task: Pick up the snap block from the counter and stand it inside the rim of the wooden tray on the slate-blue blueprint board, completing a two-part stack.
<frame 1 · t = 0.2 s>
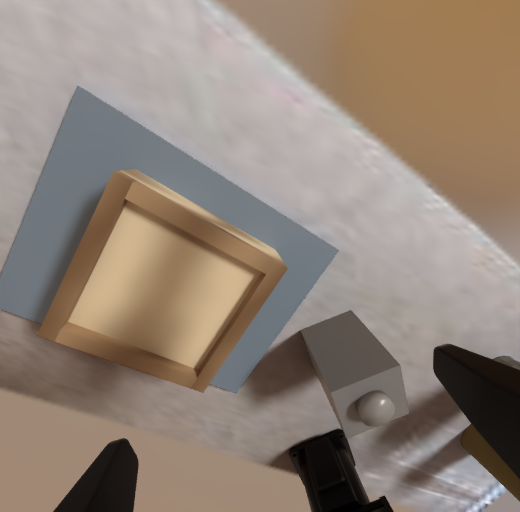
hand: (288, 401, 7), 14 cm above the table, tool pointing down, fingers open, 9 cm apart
cork: (481, 431, 34), on the table
wooden tray: (175, 276, 20), resting on blueprint board
snap block: (332, 340, 25), on the table
blueprint board: (176, 271, 20), on the table
beverage cup: (495, 370, 30), on the table
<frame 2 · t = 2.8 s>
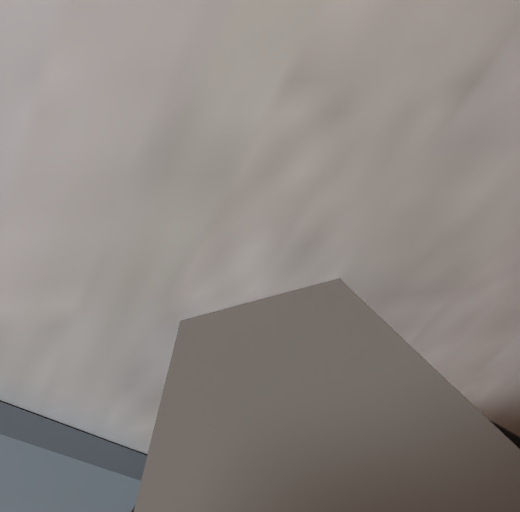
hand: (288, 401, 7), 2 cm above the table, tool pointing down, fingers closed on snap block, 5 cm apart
snap block: (277, 362, 9), on the table, touching gripper
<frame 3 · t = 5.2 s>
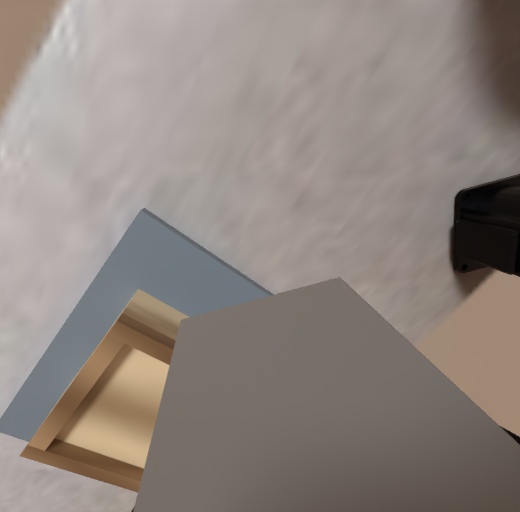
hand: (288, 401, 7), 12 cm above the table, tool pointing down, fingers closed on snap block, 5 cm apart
wooden tray: (166, 380, 20), resting on blueprint board
snap block: (277, 361, 9), point 10 cm above the table, touching gripper
blueprint board: (168, 373, 21), on the table
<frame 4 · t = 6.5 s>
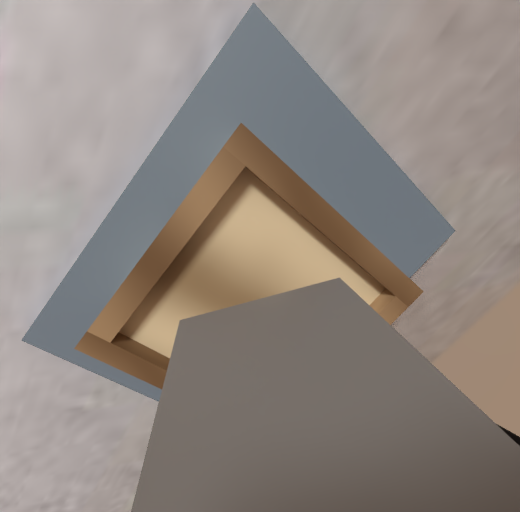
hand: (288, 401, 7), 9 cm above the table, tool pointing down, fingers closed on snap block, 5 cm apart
wooden tray: (251, 282, 15), resting on blueprint board
snap block: (276, 362, 9), point 8 cm above the table, touching gripper
blueprint board: (249, 276, 16), on the table
when the fingers open (7 cm above the table, at t = 7.6 s): snap block drops 1 cm, resting on wooden tray.
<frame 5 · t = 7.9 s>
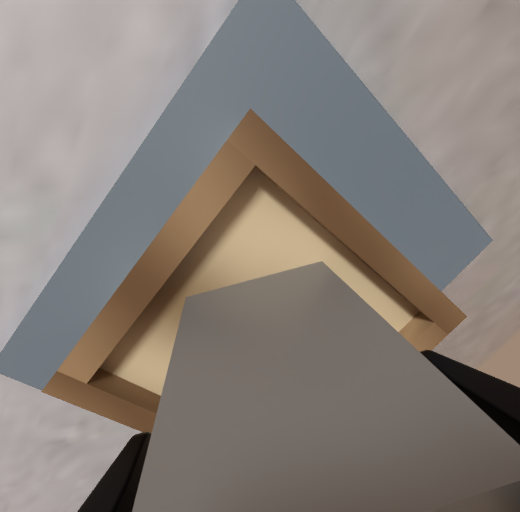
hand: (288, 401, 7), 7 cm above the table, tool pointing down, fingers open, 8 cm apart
wooden tray: (258, 300, 13), resting on blueprint board
snap block: (269, 335, 10), point 4 cm above the table, touching wooden tray
blueprint board: (256, 293, 14), on the table
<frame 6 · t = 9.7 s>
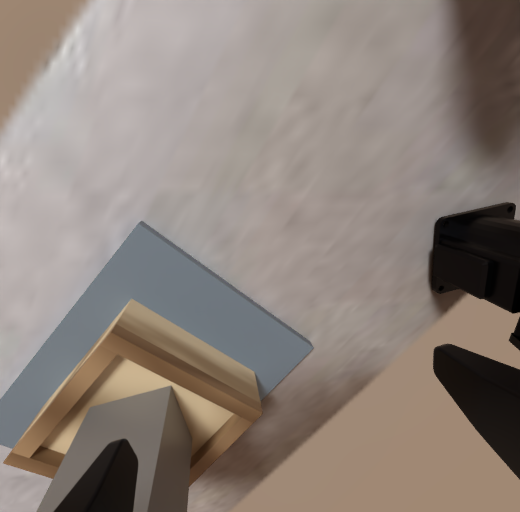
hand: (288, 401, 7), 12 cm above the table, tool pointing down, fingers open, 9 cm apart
wooden tray: (153, 388, 20), resting on blueprint board
snap block: (144, 424, 17), point 4 cm above the table, touching wooden tray
blueprint board: (155, 380, 21), on the table
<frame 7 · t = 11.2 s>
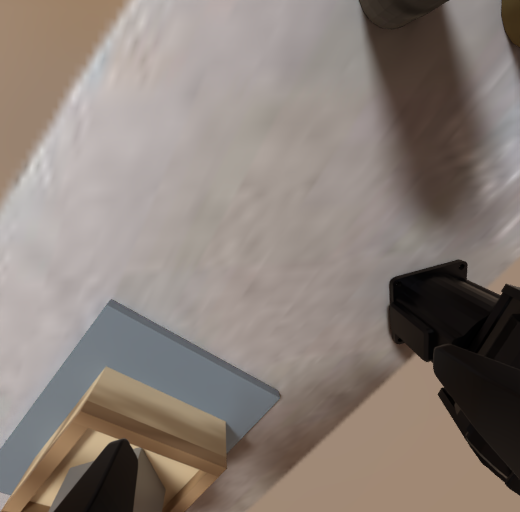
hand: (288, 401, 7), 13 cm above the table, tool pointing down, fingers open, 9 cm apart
wooden tray: (132, 440, 22), resting on blueprint board
snap block: (120, 479, 19), point 4 cm above the table, touching wooden tray
blueprint board: (135, 431, 23), on the table
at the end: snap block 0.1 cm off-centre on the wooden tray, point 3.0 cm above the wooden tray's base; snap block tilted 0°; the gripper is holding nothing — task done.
